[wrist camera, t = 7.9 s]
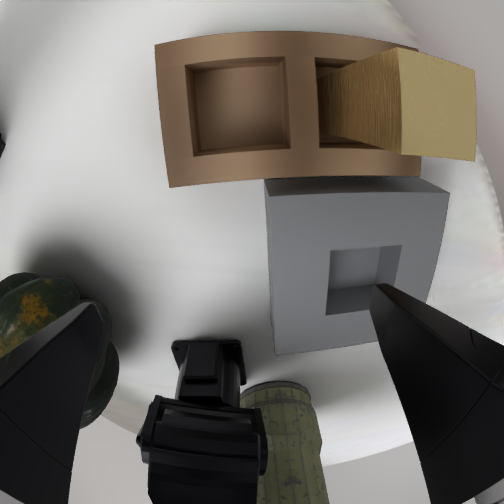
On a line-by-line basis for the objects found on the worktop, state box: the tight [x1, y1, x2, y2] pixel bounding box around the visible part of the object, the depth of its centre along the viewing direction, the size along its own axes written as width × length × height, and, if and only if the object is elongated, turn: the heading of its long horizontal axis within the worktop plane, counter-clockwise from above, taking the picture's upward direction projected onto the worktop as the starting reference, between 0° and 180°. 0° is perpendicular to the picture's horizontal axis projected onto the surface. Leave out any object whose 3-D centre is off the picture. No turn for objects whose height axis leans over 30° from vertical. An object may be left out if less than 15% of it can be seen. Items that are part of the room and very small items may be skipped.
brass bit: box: [316, 47, 477, 162], centre depth 11 cm, size 3×3×10 cm
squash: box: [0, 272, 119, 429], centre depth 18 cm, size 14×15×15 cm
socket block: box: [264, 177, 450, 355], centre depth 20 cm, size 12×12×4 cm
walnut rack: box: [155, 31, 421, 188], centre depth 15 cm, size 14×8×4 cm, turn 94°
